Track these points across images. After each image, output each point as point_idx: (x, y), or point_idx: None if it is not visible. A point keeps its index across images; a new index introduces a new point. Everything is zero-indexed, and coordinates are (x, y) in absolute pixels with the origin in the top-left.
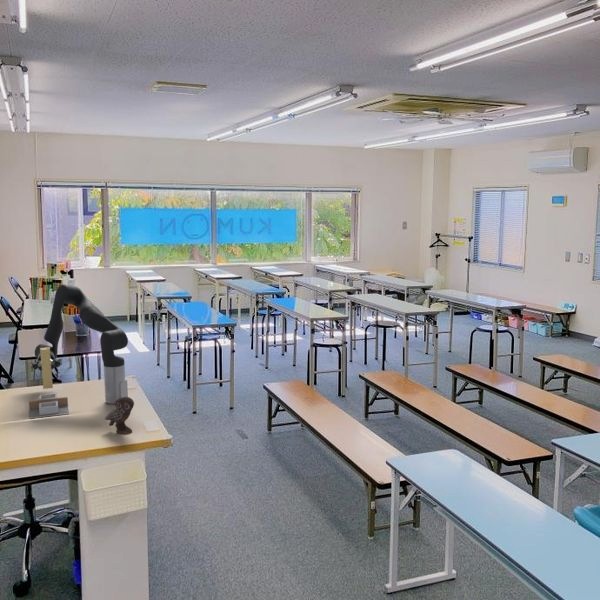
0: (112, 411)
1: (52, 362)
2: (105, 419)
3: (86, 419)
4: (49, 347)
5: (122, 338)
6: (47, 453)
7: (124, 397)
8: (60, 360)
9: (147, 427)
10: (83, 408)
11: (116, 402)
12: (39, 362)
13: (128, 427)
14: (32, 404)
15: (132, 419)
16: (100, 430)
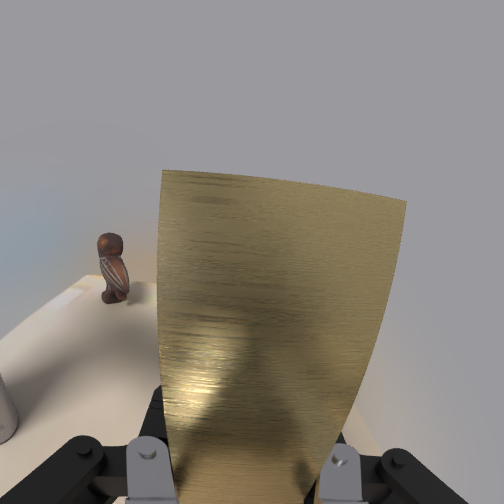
0: (123, 265)
1: (152, 445)
2: (128, 291)
3: (134, 360)
4: (176, 171)
5: None
6: None
7: (110, 233)
8: (7, 499)
9: (75, 295)
10: (98, 434)
11: (122, 241)
12: (363, 502)
13: (104, 291)
14: None
15: (63, 321)
16: (138, 314)
